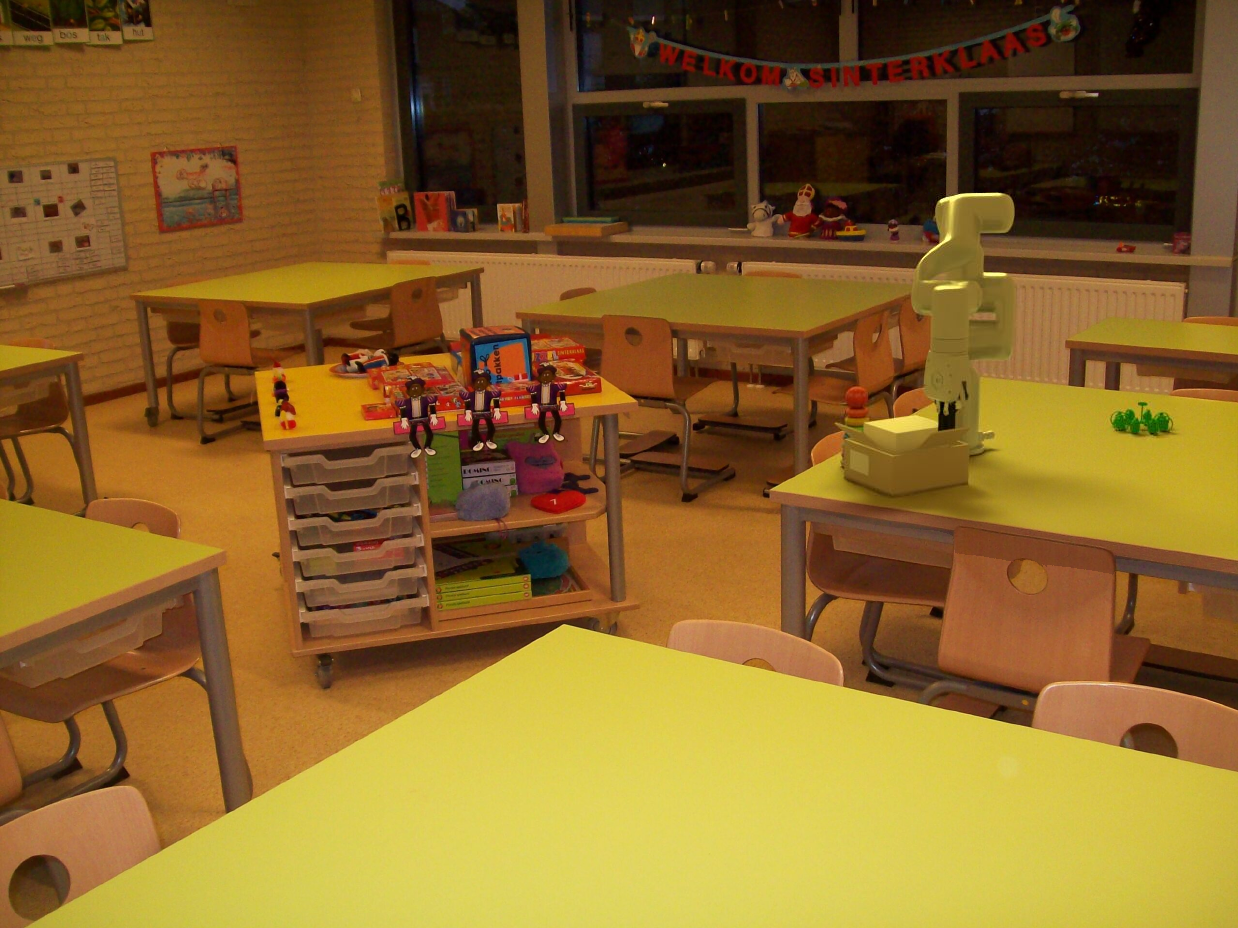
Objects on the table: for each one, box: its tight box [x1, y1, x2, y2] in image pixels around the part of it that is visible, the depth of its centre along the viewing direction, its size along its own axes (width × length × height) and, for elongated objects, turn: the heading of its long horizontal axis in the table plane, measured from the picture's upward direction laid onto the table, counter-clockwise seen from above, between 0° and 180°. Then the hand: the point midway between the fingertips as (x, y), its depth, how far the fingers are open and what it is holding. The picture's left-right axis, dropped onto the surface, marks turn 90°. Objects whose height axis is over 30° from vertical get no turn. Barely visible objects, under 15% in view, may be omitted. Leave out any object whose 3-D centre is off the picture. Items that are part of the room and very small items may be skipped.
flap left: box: [916, 426, 971, 450], centre depth 258 cm, size 10×7×1 cm
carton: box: [843, 414, 970, 498], centre depth 269 cm, size 21×19×13 cm
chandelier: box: [1109, 401, 1174, 435], centre depth 308 cm, size 15×15×7 cm
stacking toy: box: [840, 386, 870, 468], centre depth 282 cm, size 8×8×19 cm
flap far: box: [834, 421, 882, 450], centre depth 263 cm, size 10×7×1 cm
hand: (946, 431), depth 256 cm, fingers closed
